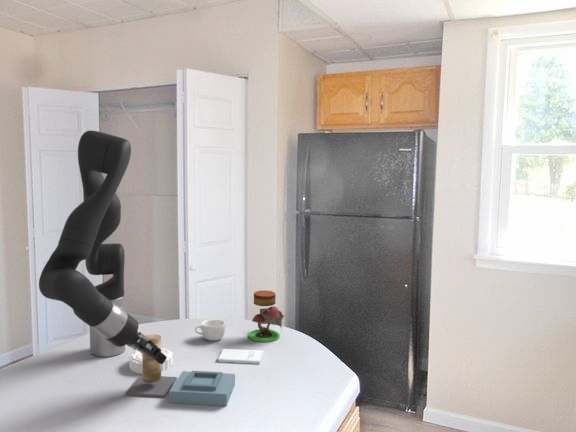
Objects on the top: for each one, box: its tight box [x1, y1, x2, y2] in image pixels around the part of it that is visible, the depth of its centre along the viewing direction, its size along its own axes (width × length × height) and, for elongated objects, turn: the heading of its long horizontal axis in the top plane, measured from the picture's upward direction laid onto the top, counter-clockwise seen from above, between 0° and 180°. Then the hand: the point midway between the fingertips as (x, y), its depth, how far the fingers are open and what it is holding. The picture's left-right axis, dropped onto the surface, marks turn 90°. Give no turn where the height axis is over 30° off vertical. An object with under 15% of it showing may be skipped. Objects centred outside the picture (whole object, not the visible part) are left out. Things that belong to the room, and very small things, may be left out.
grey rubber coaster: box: [124, 374, 178, 398], centre depth 121 cm, size 10×10×1 cm
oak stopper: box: [142, 333, 162, 383], centre depth 120 cm, size 5×5×11 cm
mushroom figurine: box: [248, 290, 285, 343], centre depth 158 cm, size 12×13×15 cm
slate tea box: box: [168, 370, 236, 407], centre depth 118 cm, size 14×11×4 cm
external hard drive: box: [217, 348, 264, 365], centre depth 141 cm, size 2×8×12 cm
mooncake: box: [128, 347, 174, 375], centre depth 134 cm, size 12×12×4 cm
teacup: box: [194, 318, 226, 342], centre depth 155 cm, size 10×8×5 cm
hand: (158, 357), depth 122 cm, fingers closed on oak stopper, 4 cm apart
